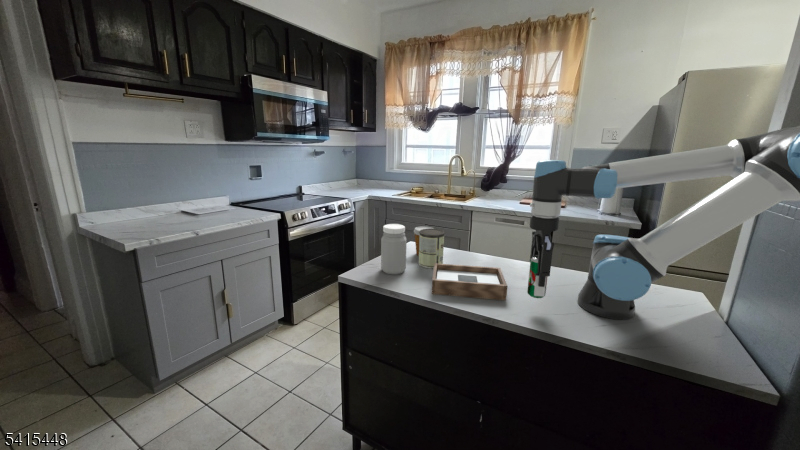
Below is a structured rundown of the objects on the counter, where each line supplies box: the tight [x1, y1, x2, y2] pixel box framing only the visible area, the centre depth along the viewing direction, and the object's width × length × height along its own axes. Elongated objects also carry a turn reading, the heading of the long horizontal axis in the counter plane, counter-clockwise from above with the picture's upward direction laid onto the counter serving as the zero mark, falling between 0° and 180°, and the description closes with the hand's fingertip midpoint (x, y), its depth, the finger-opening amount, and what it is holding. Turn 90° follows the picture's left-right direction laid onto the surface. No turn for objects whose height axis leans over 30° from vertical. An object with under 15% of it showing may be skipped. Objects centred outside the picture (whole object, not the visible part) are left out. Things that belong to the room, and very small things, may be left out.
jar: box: [380, 223, 408, 275], centre depth 125 cm, size 10×10×18 cm
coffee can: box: [418, 228, 446, 269], centre depth 133 cm, size 10×10×14 cm
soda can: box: [526, 255, 549, 299], centre depth 96 cm, size 5×5×12 cm
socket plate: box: [436, 270, 500, 284], centre depth 114 cm, size 21×13×3 cm, turn 81°
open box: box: [431, 263, 508, 301], centre depth 113 cm, size 24×16×5 cm, turn 81°
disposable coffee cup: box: [413, 225, 434, 257], centre depth 146 cm, size 10×10×12 cm
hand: (536, 291), depth 97 cm, fingers closed on soda can, 5 cm apart
